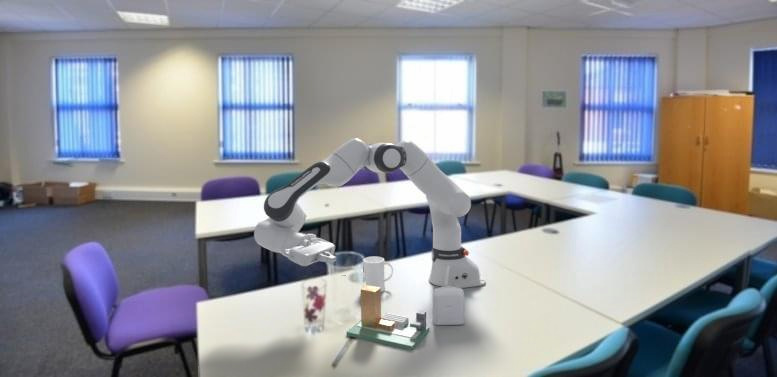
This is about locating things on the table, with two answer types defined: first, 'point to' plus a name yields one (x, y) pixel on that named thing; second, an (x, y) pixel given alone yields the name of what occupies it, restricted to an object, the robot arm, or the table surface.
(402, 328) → the board
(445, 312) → the photo printer
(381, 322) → the tall wooden block
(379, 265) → the mug
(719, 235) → the table surface
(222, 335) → the table surface
